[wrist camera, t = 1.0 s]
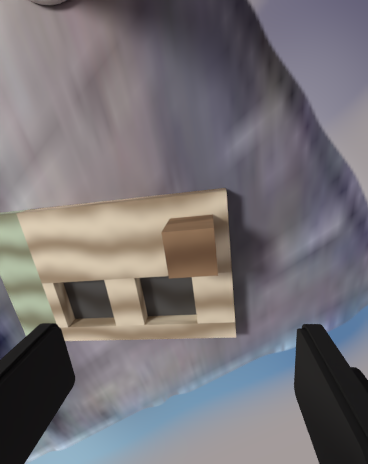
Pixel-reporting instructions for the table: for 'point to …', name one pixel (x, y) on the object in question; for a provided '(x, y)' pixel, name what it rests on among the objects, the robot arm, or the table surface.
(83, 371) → the table surface
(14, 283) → the board
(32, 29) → the table surface
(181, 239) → the walnut cube
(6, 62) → the table surface
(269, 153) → the table surface
